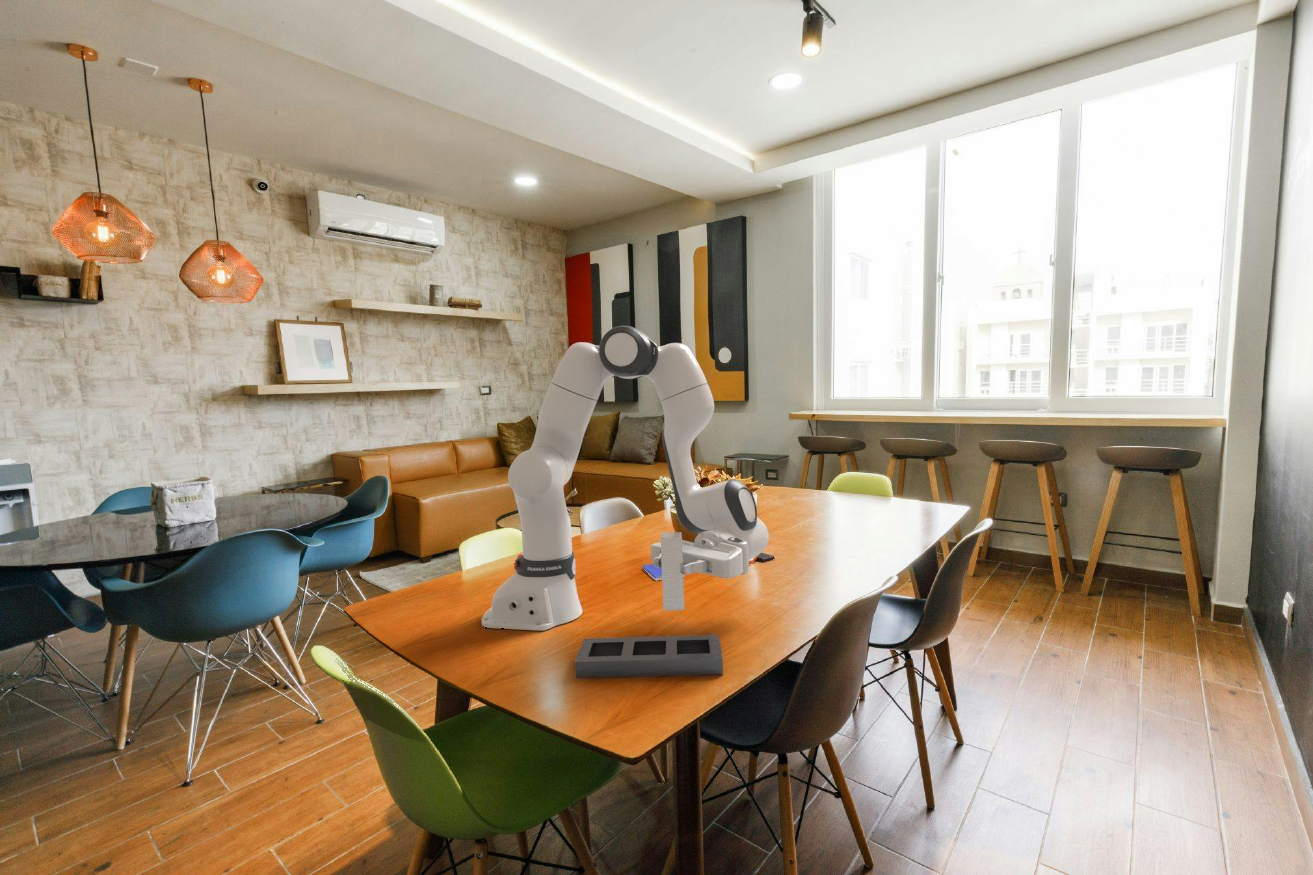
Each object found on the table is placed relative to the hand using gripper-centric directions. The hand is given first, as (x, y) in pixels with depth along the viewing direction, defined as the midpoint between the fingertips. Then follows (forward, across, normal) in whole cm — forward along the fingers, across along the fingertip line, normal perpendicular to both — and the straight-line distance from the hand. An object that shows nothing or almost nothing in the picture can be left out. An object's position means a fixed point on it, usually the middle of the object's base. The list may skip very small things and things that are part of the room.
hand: (669, 566), depth 112 cm
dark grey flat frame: (+6, 0, +17) cm, 18 cm away
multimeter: (-56, -22, +17) cm, 63 cm away
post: (-1, 0, +8) cm, 8 cm away
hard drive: (-36, -36, +18) cm, 54 cm away
